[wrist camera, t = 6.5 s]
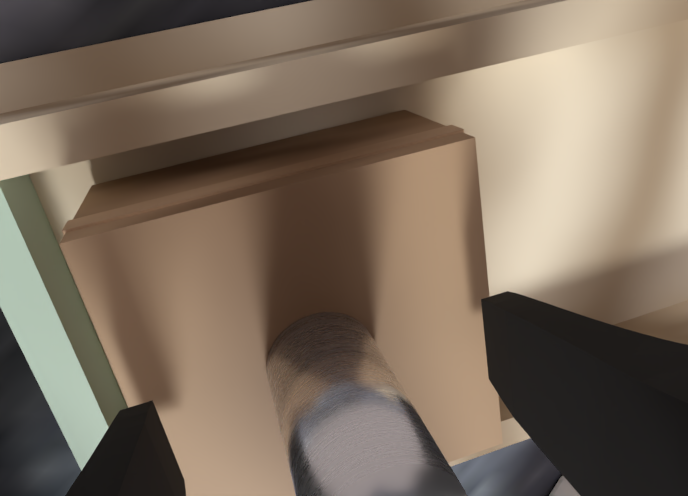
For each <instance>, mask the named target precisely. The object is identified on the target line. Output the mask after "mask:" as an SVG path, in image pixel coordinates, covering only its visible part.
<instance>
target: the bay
mask: <svg viewBox="0 0 688 496" xmlns="http://www.w3.org/2000/svg"><path fill="white" fill-rule="evenodd" d="M401 110H407V111H409V112H412V113H414V114H417V115H420V116H422V117H425V118H427V119H430V120H432V121H435V122H437V123H440V124H442V125H445V126H448V125H454V126H457V127H459V128H462V129H464V133H465V134H468V135H470V136H473V137H475V141H476V152H477V163H478V174H479V185H480V196H481V207H482V218H483V230H484V241H485V252H486V263H487V274H488V285H489V296H493V295H497V294H500V293H503V292H506V291H509V292H513V293H517V294H520V295H524V296H527V297H530V298H533V299H536V300H539V301H542V302H545V303H548V304H551V305H554V306H556V307H559V308H562V309H565V310H568V311H571V312H574V313H577V314H580V315H583V316H586V317H589V318H592V319H595V320H598V321H601V322H605V323H608V324H611V325H614V326H618V327H621V328H624V329H628V330H631V331H635V332H639V333H642V334H646V335H649V336H653V337H657V338H661V339H665V340H669V341H673V342H677V343H682V344H687V345H688V0H311V1H307V2H302V3H297V4H292V5H287V6H282V7H277V8H272V9H267V10H262V11H257V12H252V13H247V14H242V15H238V16H233V17H228V18H223V19H218V20H213V21H208V22H203V23H198V24H193V25H188V26H183V27H178V28H173V29H168V30H164V31H159V32H154V33H149V34H144V35H139V36H134V37H129V38H124V39H119V40H114V41H109V42H104V43H99V44H94V45H90V46H85V47H80V48H75V49H70V50H65V51H60V52H55V53H50V54H45V55H40V56H35V57H30V58H25V59H21V60H16V61H11V62H6V63H1V64H0V307H1V309H2V311H3V313H4V315H5V317H6V319H7V321H8V323H9V325H10V328H11V330H12V332H13V334H14V336H15V338H16V340H17V342H18V344H19V346H20V348H21V350H22V352H23V354H24V356H25V358H26V360H27V362H28V364H29V366H30V368H31V370H32V372H33V374H34V376H35V378H36V380H37V382H38V384H39V386H40V388H41V390H42V392H43V394H44V396H45V398H46V400H47V402H48V404H49V406H50V408H51V410H52V412H53V414H54V416H55V418H56V420H57V422H58V425H59V427H60V429H61V431H62V433H63V435H64V437H65V439H66V441H67V443H68V445H69V447H70V449H71V451H72V453H73V455H74V457H75V459H76V461H77V463H78V465H79V467H80V469H81V471H82V469H83V468H84V466H85V465H86V463H87V462H88V460H89V458H90V457H91V455H92V454H93V452H94V450H95V449H96V447H97V446H98V444H99V442H100V441H101V439H102V438H103V436H104V434H105V433H106V431H107V430H108V428H109V426H110V425H111V423H112V422H113V420H114V419H115V417H116V415H117V414H118V412H119V411H120V410H123V409H126V408H129V407H128V405H127V402H126V400H125V397H124V395H123V393H122V390H121V388H120V386H119V383H118V381H117V379H116V376H115V374H114V372H113V369H112V367H111V364H110V362H109V360H108V357H107V355H106V353H105V350H104V348H103V346H102V343H101V341H100V339H99V336H98V334H97V331H96V329H95V327H94V324H93V322H92V320H91V317H90V315H89V313H88V310H87V308H86V306H85V303H84V301H83V298H82V296H81V294H80V291H79V289H78V287H77V284H76V282H75V280H74V277H73V275H72V272H71V270H70V268H69V265H68V263H67V261H66V258H65V256H64V254H63V251H62V249H61V247H60V242H61V240H62V238H63V236H64V235H63V233H62V230H63V228H64V226H65V224H66V223H67V221H68V220H72V219H73V218H74V216H75V215H76V213H77V211H78V209H79V207H80V206H81V204H82V202H83V200H84V198H85V197H86V195H87V193H88V191H89V189H90V188H91V186H92V185H96V184H100V183H104V182H108V181H112V180H116V179H120V178H124V177H129V176H133V175H137V174H141V173H145V172H149V171H153V170H158V169H162V168H166V167H170V166H174V165H178V164H182V163H186V162H191V161H195V160H199V159H203V158H207V157H211V156H215V155H220V154H224V153H228V152H232V151H236V150H240V149H244V148H248V147H253V146H257V145H261V144H265V143H269V142H273V141H277V140H281V139H286V138H290V137H294V136H298V135H302V134H306V133H310V132H315V131H319V130H323V129H327V128H331V127H335V126H339V125H343V124H348V123H352V122H356V121H360V120H364V119H368V118H372V117H376V116H381V115H385V114H389V113H393V112H397V111H401ZM498 396H499V395H498ZM499 407H500V418H501V429H502V440H503V443H502V444H499V445H496V446H494V447H491V448H488V449H485V450H482V451H480V452H477V453H474V454H471V455H468V456H465V457H463V458H460V459H457V460H454V461H451V462H449V463H448V464H449V465H450V467H451V466H453V465H456V464H459V463H462V462H465V461H467V460H470V459H473V458H476V457H479V456H481V455H484V454H487V453H490V452H493V451H495V450H498V449H501V448H504V447H507V446H510V445H512V444H515V443H518V442H521V441H524V440H526V439H529V438H530V437H529V435H528V434H527V433H526V432H525V431H524V429H523V428H522V427H521V426H520V425H519V424H518V422H517V421H516V420H515V419H514V417H513V416H512V414H511V413H510V411H509V410H508V408H507V407H506V405H505V404H504V402H503V401H502V399H501V398H500V396H499Z"/></svg>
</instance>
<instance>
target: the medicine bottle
mask: <svg viewBox="0 0 688 496" xmlns="http://www.w3.org/2000/svg"><path fill="white" fill-rule="evenodd" d="M549 496H580V495H579V493H578V492H577V491H576V490H575V489H574V488H573V486H572V485H571V484H570V483H569V482H568V481H567V480H566V478H565V477H564V476H561V477H560V479H559V480H558V482H557V483H556V485H555V487H554V488H553V490H552V491H551V493H550V495H549Z"/></svg>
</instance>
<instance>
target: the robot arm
mask: <svg viewBox="0 0 688 496" xmlns="http://www.w3.org/2000/svg"><path fill="white" fill-rule="evenodd" d="M481 305H482V315H483V326H484V336H485V346H486V356H487V366H488V377H489V380H490V382H491V383H492V385H493V387H494V388H495V390H496V391H497V393H498V395H499V396H500V398H501V399H502V401H503V402H504V404H505V405H506V407H507V408H508V410H509V411H510V413H511V414H512V416H513V417H514V419H515V420H516V421H517V422H518V424H519V425H520V426H521V427H522V428H523V429H524V431H525V432H526V433H527V434H528V435H529V437H530V438H531V439H532V440H533V441H534V442H535V444H536V445H537V446H538V447H539V448H540V449H541V451H542V452H543V453H544V454H545V455H546V456H547V458H548V459H549V460H550V461H551V462H552V463H553V464H554V466H555V467H556V468H557V469H558V470H559V471H560V473H561V474H562V475H563V476H564V477H565V478H566V480H567V481H568V482H569V483H570V484H571V485H572V486H573V488H574V489H575V490H576V491H577V492H578V493H579V495H580V496H688V345H687V344H682V343H677V342H673V341H669V340H665V339H661V338H657V337H653V336H649V335H646V334H642V333H639V332H635V331H631V330H628V329H624V328H621V327H618V326H614V325H611V324H608V323H605V322H601V321H598V320H595V319H592V318H589V317H586V316H583V315H580V314H577V313H574V312H571V311H568V310H565V309H562V308H559V307H556V306H554V305H551V304H548V303H545V302H542V301H539V300H536V299H533V298H530V297H527V296H524V295H520V294H517V293H513V292H509V291H506V292H503V293H500V294H497V295H493V296H490V297H487V298H484V299H481ZM66 496H186V489H185V480H184V478H183V475H182V473H181V470H180V468H179V465H178V463H177V460H176V458H175V455H174V453H173V450H172V448H171V445H170V443H169V440H168V438H167V435H166V433H165V430H164V428H163V425H162V423H161V420H160V418H159V415H158V413H157V410H156V408H155V405H154V403H153V400H152V401H149V402H145V403H142V404H139V405H136V406H132V407H129V408H126V409H123V410H120V411H119V412H118V414H117V415H116V417H115V419H114V420H113V422H112V423H111V425H110V426H109V428H108V430H107V431H106V433H105V434H104V436H103V438H102V439H101V441H100V442H99V444H98V446H97V447H96V449H95V450H94V452H93V454H92V455H91V457H90V458H89V460H88V462H87V463H86V465H85V466H84V468H83V469H82V471H81V473H80V474H79V476H78V477H77V479H76V480H75V482H74V483H73V485H72V486H71V488H70V489H69V491H68V492H67V494H66Z"/></svg>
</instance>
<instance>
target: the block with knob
mask: <svg viewBox="0 0 688 496" xmlns="http://www.w3.org/2000/svg"><path fill="white" fill-rule="evenodd" d="M62 233H63V235H64V236H63V238H62V240H61V242H60V247H61V249H62V251H63V254H64V256H65V258H66V261H67V263H68V265H69V268H70V270H71V272H72V275H73V277H74V280H75V282H76V284H77V287H78V289H79V291H80V294H81V296H82V298H83V301H84V303H85V306H86V308H87V310H88V313H89V315H90V317H91V320H92V322H93V324H94V327H95V329H96V331H97V334H98V336H99V339H100V341H101V343H102V346H103V348H104V350H105V353H106V355H107V357H108V360H109V362H110V364H111V367H112V369H113V372H114V374H115V376H116V379H117V381H118V383H119V386H120V388H121V390H122V393H123V395H124V397H125V400H126V402H127V405H128V407H132V406H136V405H139V404H142V403H145V402H149V401H152V400H153V403H154V405H155V408H156V410H157V413H158V415H159V418H160V420H161V423H162V425H163V428H164V430H165V433H166V435H167V438H168V440H169V443H170V445H171V448H172V450H173V453H174V455H175V458H176V460H177V463H178V465H179V468H180V470H181V473H182V475H183V478H184V480H185V489H186V496H467V495H466V492H465V490H464V489H463V487H462V485H461V484H460V482H459V480H458V479H457V477H456V475H455V474H454V472H453V470H452V469H451V467H450V465H449V464H448V463H449V462H451V461H454V460H457V459H460V458H463V457H465V456H468V455H471V454H474V453H477V452H480V451H482V450H485V449H488V448H491V447H494V446H496V445H499V444H502V443H503V440H502V429H501V418H500V407H499V396H498V393H497V391H496V390H495V388H494V387H493V385H492V383H491V382H490V380H489V377H488V366H487V356H486V346H485V336H484V326H483V315H482V305H481V299H484V298H487V297H490V296H489V285H488V274H487V263H486V252H485V241H484V230H483V218H482V207H481V196H480V185H479V174H478V163H477V152H476V141H475V137H473V136H470V135H468V134H465V133H464V129H462V128H459V127H457V126H454V125H448V126H445V125H442V124H440V123H437V122H435V121H432V120H430V119H427V118H425V117H422V116H420V115H417V114H414V113H412V112H409V111H407V110H401V111H397V112H393V113H389V114H385V115H381V116H376V117H372V118H368V119H364V120H360V121H356V122H352V123H348V124H343V125H339V126H335V127H331V128H327V129H323V130H319V131H315V132H310V133H306V134H302V135H298V136H294V137H290V138H286V139H281V140H277V141H273V142H269V143H265V144H261V145H257V146H253V147H248V148H244V149H240V150H236V151H232V152H228V153H224V154H220V155H215V156H211V157H207V158H203V159H199V160H195V161H191V162H186V163H182V164H178V165H174V166H170V167H166V168H162V169H158V170H153V171H149V172H145V173H141V174H137V175H133V176H129V177H124V178H120V179H116V180H112V181H108V182H104V183H100V184H96V185H92V186H91V188H90V189H89V191H88V193H87V195H86V197H85V198H84V200H83V202H82V204H81V206H80V207H79V209H78V211H77V213H76V215H75V216H74V218H73V219H72V220H68V221H67V223H66V224H65V226H64V228H63V230H62Z"/></svg>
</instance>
